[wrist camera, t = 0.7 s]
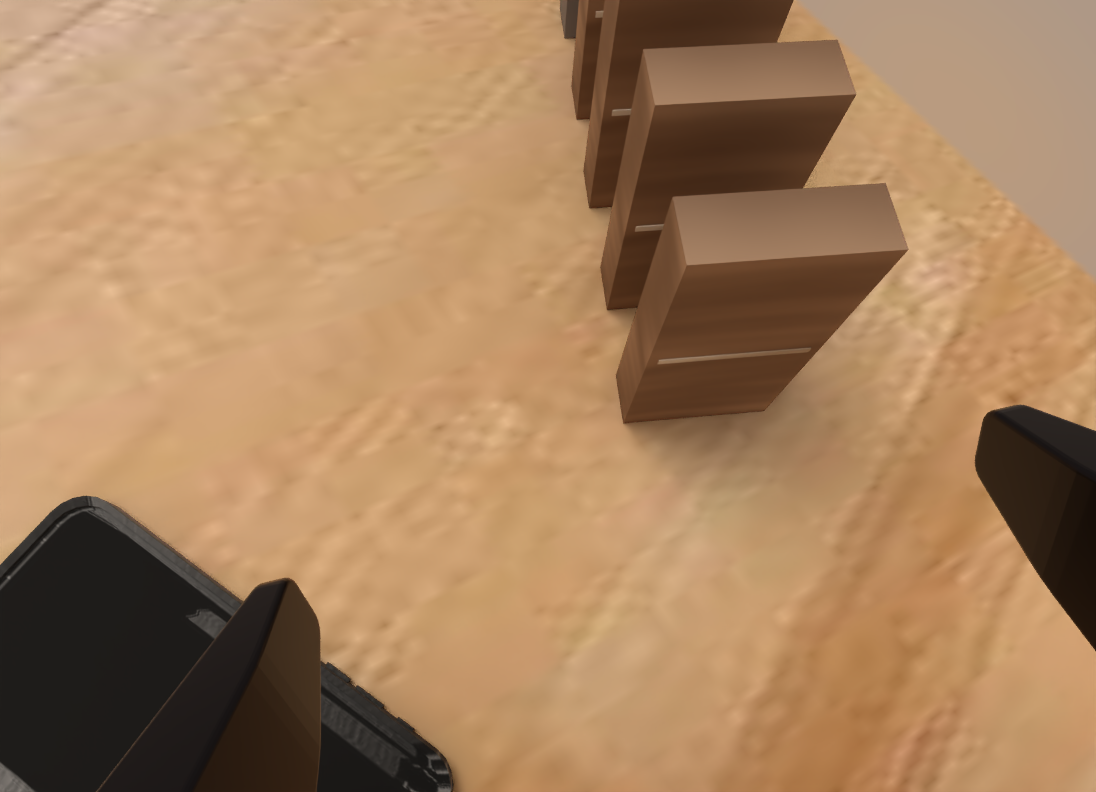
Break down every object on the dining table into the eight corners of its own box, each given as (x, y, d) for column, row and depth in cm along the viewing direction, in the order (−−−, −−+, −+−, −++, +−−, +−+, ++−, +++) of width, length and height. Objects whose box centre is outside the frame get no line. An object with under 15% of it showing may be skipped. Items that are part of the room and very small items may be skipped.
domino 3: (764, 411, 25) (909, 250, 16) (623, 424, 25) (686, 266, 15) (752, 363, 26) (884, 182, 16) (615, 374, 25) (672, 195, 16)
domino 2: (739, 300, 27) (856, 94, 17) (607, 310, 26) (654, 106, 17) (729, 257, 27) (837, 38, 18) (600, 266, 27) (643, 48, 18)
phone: (277, 1080, 17) (-137, 706, 20) (291, 1058, 18) (-104, 705, 21) (470, 773, 20) (82, 478, 22) (472, 768, 21) (101, 487, 23)
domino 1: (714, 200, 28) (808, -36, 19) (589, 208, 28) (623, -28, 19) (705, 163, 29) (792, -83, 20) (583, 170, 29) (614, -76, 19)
